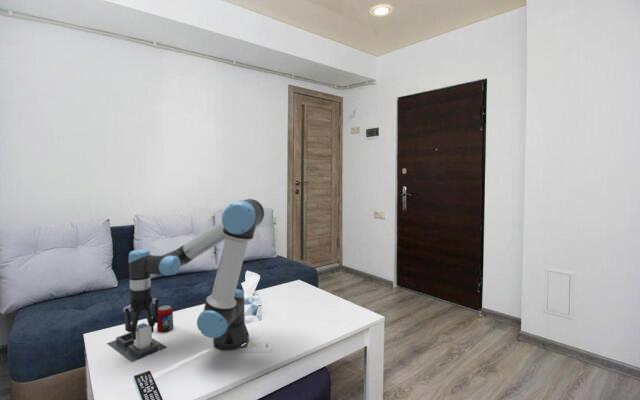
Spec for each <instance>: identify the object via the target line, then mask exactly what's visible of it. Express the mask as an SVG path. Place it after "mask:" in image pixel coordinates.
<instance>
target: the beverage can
mask: <svg viewBox="0 0 640 400" xmlns="http://www.w3.org/2000/svg"><path fill="white" fill-rule="evenodd" d="M173 313H174V311H173V308H172V306H171V305H170V304H169V305H167V304H166V305H161V306H159V307H158V322H157V323H156V328H157V329H156V330H157V331H156V333H159V334H164V333H169V332H172V330H173V331H174V314H173Z"/></svg>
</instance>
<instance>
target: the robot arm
mask: <svg viewBox="0 0 640 400" xmlns="http://www.w3.org/2000/svg"><path fill="white" fill-rule="evenodd" d="M221 215H222V216H221V221H220V222H218V223H217V224H215V225H213V226H212V227H211V228H208V229H207V230H206V231H204V232H202V233H201V234H199V235H197V236H196V237H194V238H192V239H191V240H189V241H188V242H186V243H185V244H183V245H181V246H180V247H178V248H177V249H174V250H172V251H169V252H167V253H164V254H162V255H161V254H160V255H151V253H150V250H149V249H146V248H141V249H134V250H132V251H130V252H129V253H128V270H129V272H128V274H129V289H130V290H129V299H130V301H129V305H127V306H124V307H122V311H123V313H124V327H125V329H124V330H125V331H126V332H127V333H130V332H131V338H132V339H133V340H134V346H135V347H139V337H138V331H137V330H136V329H137V326H138V322H139V318H140V314H141V312H143V311H144V314H145V317H146V321H147V323H148V324H147V325H149V326H150V342H152V337H153V333H154V331H155V330H154V327H155V325H156V324H157V322H158V308H159V307H158V306H159V305H158V304H159V303H160V302H159V301H160V299H158V298H156V297H154V298H153V297H152V287H151V286H152V281H151V277H152V276H151V275H157V276H161V275H162V276H174V275H177V273H178V272H179V271H180V268H181V267H183V266H185V265H187V264H189V263H191V262H192V261H193V260H194V259H196V258H197V257H199V256H201V255H202V254H204V253H206V252H207V251H210V250H211V249H212V248H214V247H215V246H217V245H219V244H221V243H222V242H223V246H222V249H221V250H222V251H221V255H220V259H219V263H218V267H217V272H216V275H215V280H214V284H213V288H212V292H211V294H209V295H208V296H207V297H206V300H205V302H204V303H205V304H204V308H203V311H202V312H200V314H199V316H198V317H197V319H196V320H197V321H196V325H197V326H196V327H197V328H198V331H200V333H201V334H202V335H203V336H204V337H206V338H209V339H212V340H213V341H212V343H213V347H214V348H216V349H218V350H219V351H220V350H222V351H233V350H237V349H240V347H241V345H242V344H244V343H247V342H248V343H249V341H250V335H249V330H248V327H247V325H246V321H245V319H246V318H245V317H246V315H245V292H244V290H242V289H239V288H238V287H237V286H238V282H239V278H240V275H241V270H242V267H243V262H244V259H245V255H246V250H247V246H248V243H249V242H250V241H251V240H253V239H254V234H255V231H256V227H258V226H259V225H260V224H261V223H262V222H263V220H264V218H265V209H264V207H263V205H262V203H261V202H260V201H258V200H256V199H252V198H248V199H243V200H236V201H233V202H231V203H229V205H227V207H225V208H224V210H223V212H222V214H221ZM150 305H151V307H150ZM131 309H132V310H131ZM131 311H132V313H133V314H132V319H131ZM151 312H152V313H151ZM248 343H247V344H248ZM241 348H242V347H241Z"/></svg>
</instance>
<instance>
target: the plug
mask: <svg viewBox="0 0 640 400" xmlns="http://www.w3.org/2000/svg"><path fill="white" fill-rule="evenodd" d="M136 330H137V331H138V337H139V347H136V349H137V350H141V349H144V348H146V347H149V346H150V326H149V324H147V323H145V322H142V323H140V324H137V329H136Z"/></svg>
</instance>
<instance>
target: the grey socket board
mask: <svg viewBox="0 0 640 400" xmlns="http://www.w3.org/2000/svg"><path fill="white" fill-rule="evenodd" d="M106 345H108V346H109V347H110V348H112V349H113V350H115V351H116V352H117V353H118V354H120V355H121V356H122V357H124V358H125V359H127V360H128V361H129V362H130V363H134V362H136V361H139V360H141V359H143V358H144V359H145V357H148V356H151V355H153V354H155V353H158V352H160V351H162V350H165V349H168V347H167V346H166V345H164V344H163V343H161V342H159V341H158V340H156V339H154V338H152V342H150V346H149V347H146V348H144V349H141V350H137V349H136V347H135V346H134V340H133V339H132V338H131V332H127V333H125V334H124V333H123V335H119V336H117V337H115V340H112V341H110V342H107V343H106Z"/></svg>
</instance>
